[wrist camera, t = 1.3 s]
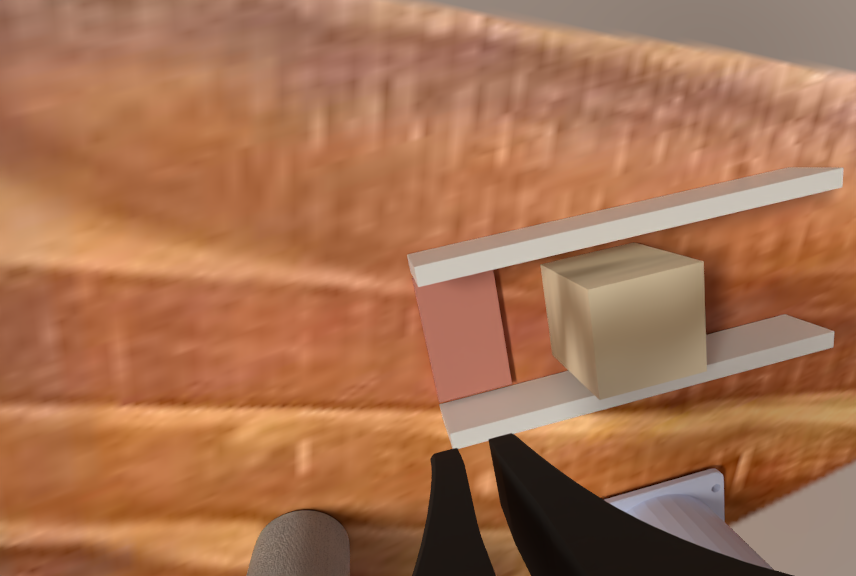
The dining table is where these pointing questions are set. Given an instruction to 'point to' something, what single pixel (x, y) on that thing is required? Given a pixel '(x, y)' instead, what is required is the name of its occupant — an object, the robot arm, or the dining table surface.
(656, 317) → the block
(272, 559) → the grey hollow tube
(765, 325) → the channel
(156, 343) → the dining table surface
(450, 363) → the pad
